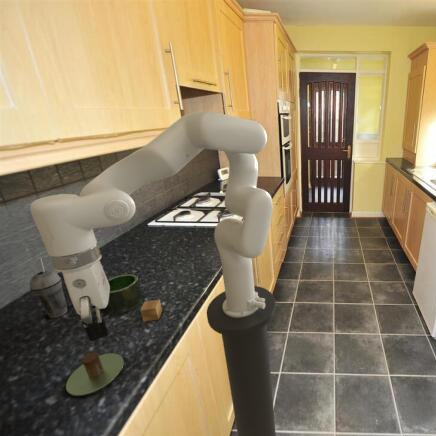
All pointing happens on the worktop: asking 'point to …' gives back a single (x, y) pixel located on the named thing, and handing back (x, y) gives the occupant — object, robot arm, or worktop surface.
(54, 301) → the beverage cup
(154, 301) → the block
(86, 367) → the lid
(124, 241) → the worktop surface
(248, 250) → the robot arm
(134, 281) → the tin
